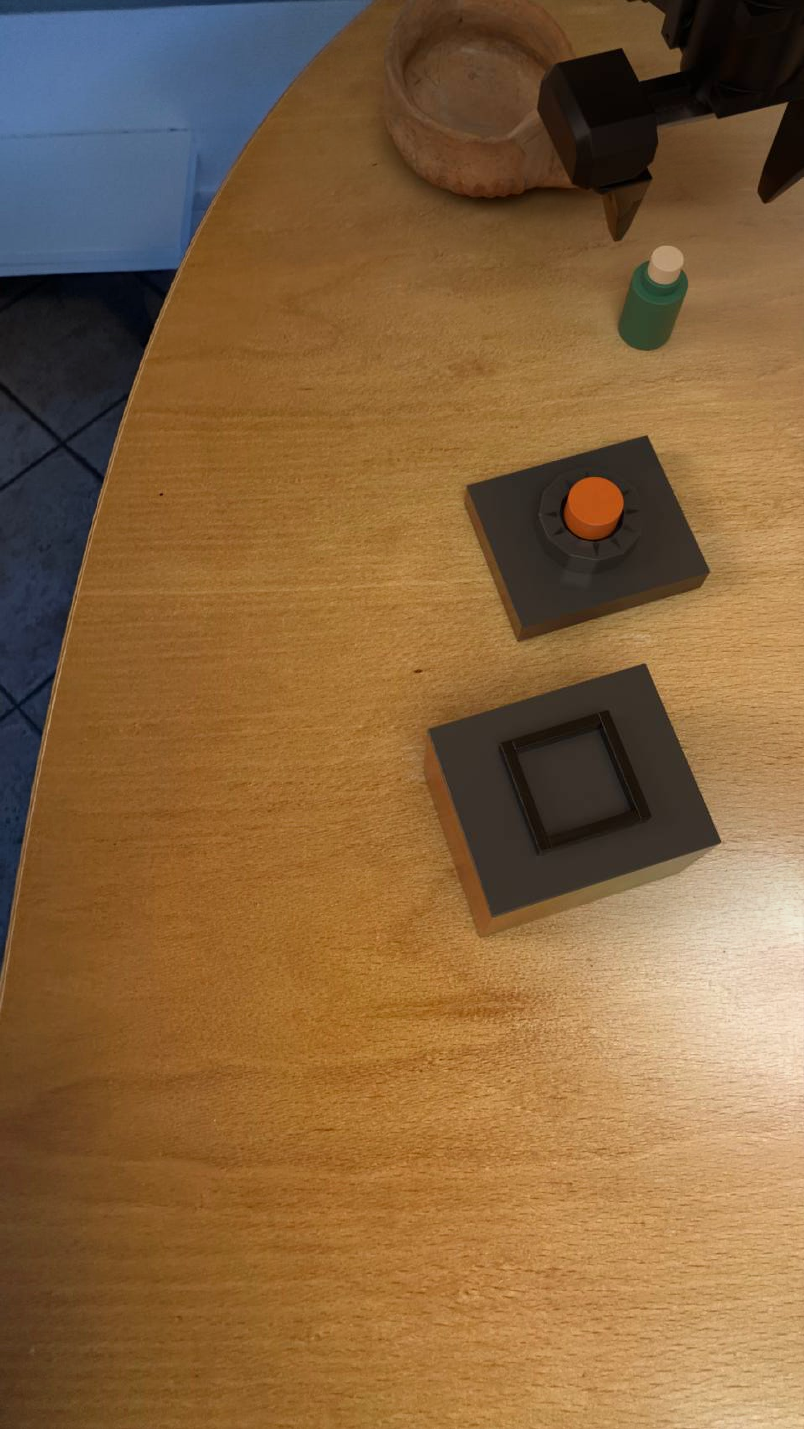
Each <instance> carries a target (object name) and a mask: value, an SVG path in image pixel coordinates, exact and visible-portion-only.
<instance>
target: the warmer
mask: <svg viewBox="0 0 804 1429" xmlns="http://www.w3.org/2000/svg"><path fill="white" fill-rule="evenodd" d="M423 777H424V779H425V782H426V785H427V788H428V791H429V794H430V797H431V800H432V803H433V806H434V808H435V811H436V815H437V817H438V820H439V823H440V826H441V829H442V833H443V835H444V838H445V840H446V843H447V847H448V850H449V854H450V856H451V858H452V861H453V864H454V867H455V871H456V872H457V875H458V879H459V882H460V885H461V888H462V891H463V894H464V897H465V900H466V903H467V905H468V909H469V911H470V915H471V918H472V920H473V923H474V926H475V929H476V933H477V935H478V937H479V939H484V938H486V937H490V936H492V935H496V934H499V933H502V932H504V931H507V930H510V929H513V928H516V927H520V926H522V925H526V924H529V923H532V922H534V921H535V922H536V921H538V920H542V919H544V918H547V917H550V916H553V915H556V914H559V913H562V912H565V911H568V910H571V909H574V908H578V907H581V906H584V905H587V904H590V903H594V902H596V901H599V900H602V899H605V898H608V897H611V896H614V895H617V894H621V893H624V892H627V891H630V890H632V889H636V888H638V887H642V886H645V885H649V884H651V883H654V882H657V881H660V880H663V879H666V878H669V877H672V876H675V875H679V874H681V873H682V872H684V871H685V870H686V869H688V868H689V867H691V866H692V865H694V864H695V863H696V862H698V861H699V860H700V859H702V858H703V857H704V856H705V855H707V854H709V853H710V852H712V850H714V849H715V848H717V847H718V846H719V845H721V844H722V839H721V837H720V834H719V832H718V830H717V828H716V825H715V822H714V821H713V818H712V816H711V814H710V811H709V809H708V806H707V804H706V802H705V799H704V797H703V794H702V792H701V790H700V787H699V785H698V782H697V781H696V778H695V776H694V774H693V771H692V769H691V766H690V763H689V762H688V758H687V757H686V754H685V751H684V750H683V747H682V745H681V743H680V741H679V739H678V736H677V734H676V731H675V729H674V726H673V723H672V722H671V720H670V716H669V714H668V712H667V710H666V707H665V705H664V703H663V701H662V698H661V696H660V693H659V690H658V689H657V687H656V684H655V682H654V680H653V677H652V674H651V672H650V670H649V667H648V665H647V663H646V662H643V663H639V664H637V665H633V666H630V667H627V668H624V669H621V670H618V671H614V672H611V673H608V674H604V675H601V676H598V677H595V678H591V679H588V680H584V681H581V682H578V683H575V684H571V685H568V686H565V687H562V688H558V689H554V690H551V691H549V692H545V693H542V694H537V695H536V696H532V697H529V698H525V699H521V700H517V701H516V702H515V701H514V702H512V703H509V704H505V705H502V706H499V707H496V708H492V709H489V710H485V711H483V712H478V713H476V714H473V715H469V716H466V717H463V718H459V719H457V720H453V721H450V722H447V723H444V724H443V723H442V724H440V725H437V726H434V727H430V728H427V730H426V738H425V752H424V763H423Z"/></svg>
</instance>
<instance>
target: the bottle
mask: <svg viewBox="0 0 804 1429" xmlns="http://www.w3.org/2000/svg"><path fill="white" fill-rule="evenodd" d="M684 263H685V259H684V255H683V253H682V251H681V250H679V248H677V247H675V246H672V245H661V246H658V247H656V248H655V249H654V250H653V252H652V253H651V256H650V259H648V260H646V261H644V262H641V263H640V264H639V265H638V266H637V267H635V269H634V271H633V272H632V276H631V279H630V282H629V286H628V288H627V292H626V295H625V298H624V299H625V300H624V302H623V306H622V310H621V313H620V316H619V320H618V325H617V328H618V333H619V335H620V337H621V339H622V341H624V342H625V343H626V344H627V345H628V346H630V347H632V348H633V349H636V350H640V351H653V350H656V349H659V348H661V347H663V346H664V345H665V344H667V342H668V341H669V340H670V339H671V336H672V333H673V330H674V327H675V326H676V322H677V320H678V316H679V314H680V311H681V309H682V306H683V303H684V301H685V298H686V295H687V292H688V290H689V279H688V276H687V273H686V272H685V271H684V269H682V268H683V265H684Z"/></svg>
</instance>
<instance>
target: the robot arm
mask: <svg viewBox="0 0 804 1429" xmlns="http://www.w3.org/2000/svg"><path fill="white" fill-rule="evenodd" d="M625 1H627V2H628V3H633V2H637V1H638V2H639V0H625ZM640 1H641V3H644V4H648V3H650V4H651V5H652V6H653V7H655V8H656V9H658V10H659V11H660V12H662V13H663V14H664V18H663V22H662V26H661V30H660V34H661V37H662V38H663V40H664V42H665V44H666V46H667V47H668V49H669V50H676V49H679V51H680V52H681V58H680V62H679V71H677V72H673V73H669V74H666V75H662V76H657V77H653V78H652V77H651V78H650V79H649V78H648V79H644V80H639V78H638V76H637V74H636V72H635V70H634V69H633V66H632V65H631V63H630V60H629V59H628V56H627V55H626V53H625V51H624V48H623V47H619V48H614V49H610V50H606V51H602V52H597V53H594V54H590V55H589V54H588V55H585V56H581V57H576V59H572V60H568V61H563V62H559V63H556V64H553V65H551V66H548V68H547V70H546V72H545V74H544V76H543V78H542V80H541V84H540V91H539V98H538V105H537V111H538V113H539V115H540V117H541V119H542V122H543V124H544V126H545V128H546V130H547V132H548V134H549V136H550V139H551V141H552V143H553V145H554V147H555V149H556V151H557V154H558V156H559V158H560V160H561V162H562V164H563V166H564V168H565V171H566V173H567V175H568V177H569V179H570V181H571V183H572V184H573V185H575V186H578V187H580V188H579V189H583V190H586V191H587V190H592V191H593V192H594V193H596V194H597V195H600V196H601V199H602V203H603V204H602V205H603V209H604V213H605V214H604V215H605V219H606V225H607V230H608V232H609V234H610V236H611V238H612V241H613V242H614V243H617V242H620V241H622V240H623V238H624V237H625V235H626V234H627V233H628V231H629V230H630V228H631V226H632V223H633V221H634V219H635V217H636V215H637V213H638V211H639V209H640V206H641V204H642V202H643V200H644V198H645V196H646V194H647V192H648V191H649V187H650V186H651V183H652V182H653V176H652V174H651V171H650V170H649V168H648V167H649V166H650V165H652V163H653V162H654V160H655V156H656V153H657V149H658V146H659V134H658V132H662V131H666V130H671V129H675V128H679V127H682V126H687V125H690V124H694V123H699V122H703V121H707V120H712V119H715V118H716V119H717V120H721V119H726V118H729V117H734V116H737V115H742V114H745V113H751V112H754V111H758V110H762V109H766V108H770V107H774V106H778V105H782V104H786V107H785V109H784V112H783V113H782V114H783V115H782V117H781V119H780V123H779V125H778V128H777V130H776V133H775V135H774V138H773V141H772V143H771V146H770V149H769V151H768V153H767V156H766V159H765V161H764V164H763V167H762V171H761V174H760V178H759V181H758V186H757V195H758V197H759V198H760V200H761V202H762V204H764V205H767V204H770V203H772V202H774V201H775V200H776V199H777V198H778V197H780V196H781V195H783V193H785V192H786V191H788V190H789V189H790V188H792V187H793V186H794V185H795V184H797V183H798V182H799V181H801V180H802V179H803V178H804V0H640Z"/></svg>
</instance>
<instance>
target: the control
mask: <svg viewBox="0 0 804 1429" xmlns="http://www.w3.org/2000/svg"><path fill="white" fill-rule="evenodd" d="M589 477H600V478H604V479H607V480H609V481H611V482H612V483H613V484H615V485H616V486H617V487H618V489H619V490H620V492H621V494H622V496H623V501H624V505H623V510H622V512H621V515H620V517H619V520H618V522H617V525H616V527H615V529H614V530H613V531H612V532H611V533H610V534H609V535H607V536H606V537H603V538H601V539H595V540H590V539H584V538H581V537H579V536H577V535H576V534H574V533H573V532H572V531H571V530H570V529H569V528H568V526H567V524H566V522H565V519H564V510H565V506H566V503H567V499H568V496H569V493H570V490H571V489H572V487H573V486H574V485H575V484H576V483H577V482H579V481H580V480H582V479H585V478H589ZM464 507H465V510H466V512H467V515H468V517H469V520H470V522H471V524H472V527H473V530H474V533H475V535H476V538H477V540H478V542H479V545H480V546H479V547H480V548H481V550H482V553H483V556H484V558H485V561H486V563H487V566H488V569H489V572H490V574H491V576H492V579H493V582H494V584H495V587H496V589H497V593H498V595H499V597H500V600H501V602H502V605H503V608H504V610H505V613H506V616H507V618H508V620H509V623H510V626H511V628H512V632H513V634H514V636H515V640H516V641H517V643H520V642H523V641H526V640H529V639H533V638H537V637H539V636H542V635H543V636H544V635H546V634H550V633H552V632H557V631H559V630H563V629H566V628H570V627H574V626H576V625H580V624H583V623H587V622H590V621H593V620H596V619H601V618H603V617H606V616H610V615H613V614H616V613H621V612H623V611H627V610H630V609H634V608H637V607H640V606H643V605H647V604H651V603H653V602H657V601H661V600H663V599H668V598H670V597H673V596H677V595H681V594H683V593H687V592H690V591H694V590H696V589H701V588H702V586H703V585H704V583H705V582H706V580H707V578H708V576H709V574H710V573H711V570H710V568H709V565H708V562H707V561H706V559H705V556H704V555H703V552H702V550H701V548H700V546H699V544H698V542H697V540H696V537H695V535H694V532H693V531H692V529H691V527H690V524H689V522H688V519H687V517H686V515H685V513H684V511H683V510H682V507H681V505H680V503H679V501H678V498H677V496H676V493H675V492H674V490H673V488H672V486H671V483H670V481H669V478H668V477H667V475H666V472H665V470H664V467H663V466H662V464H661V461H660V460H659V457H658V455H657V453H656V451H655V448H654V446H653V444H652V442H651V440H650V438H649V435H648V434H645V435H642V436H638V437H634V438H631V439H628V440H624V441H620V442H617V443H614V444H610V445H607V446H606V445H605V446H602V447H599V448H595V449H592V450H589V451H586V452H581V453H578V454H574V455H570V456H567V457H563V458H560V459H557V460H556V459H555V460H553V461H549V462H545V463H542V464H538V465H534V466H532V467H531V466H530V467H528V468H524V469H520V470H517V471H513V472H509V473H507V474H503V475H499V476H496V477H491V478H488V479H485V480H481V481H478V482H475V483H471V484H467V485H466V487H465V496H464Z"/></svg>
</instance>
